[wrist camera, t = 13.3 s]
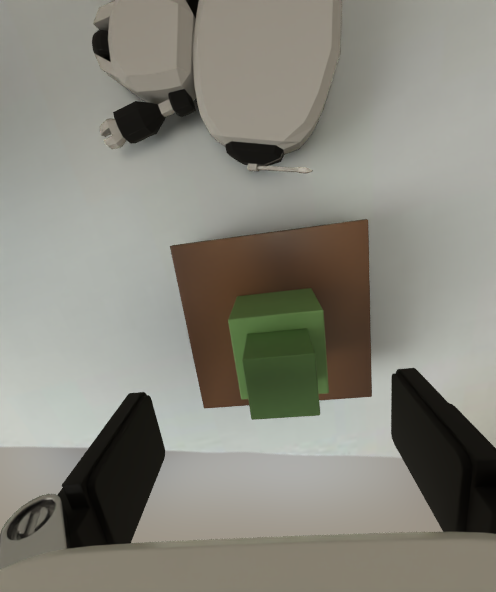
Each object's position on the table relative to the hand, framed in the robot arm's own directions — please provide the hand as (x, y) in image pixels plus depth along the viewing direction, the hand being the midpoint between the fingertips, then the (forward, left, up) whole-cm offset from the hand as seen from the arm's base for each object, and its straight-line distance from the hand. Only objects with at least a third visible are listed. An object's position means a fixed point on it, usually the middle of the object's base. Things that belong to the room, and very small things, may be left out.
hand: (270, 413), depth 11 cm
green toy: (+1, 0, -9) cm, 9 cm away
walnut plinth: (0, 0, -14) cm, 14 cm away
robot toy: (-2, +17, -14) cm, 22 cm away
